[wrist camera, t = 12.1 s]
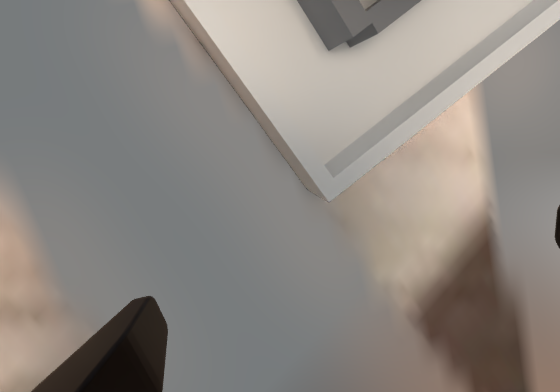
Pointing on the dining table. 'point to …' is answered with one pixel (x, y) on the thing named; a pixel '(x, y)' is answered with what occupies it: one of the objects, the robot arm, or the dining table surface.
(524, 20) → the socket tray
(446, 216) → the dining table surface
